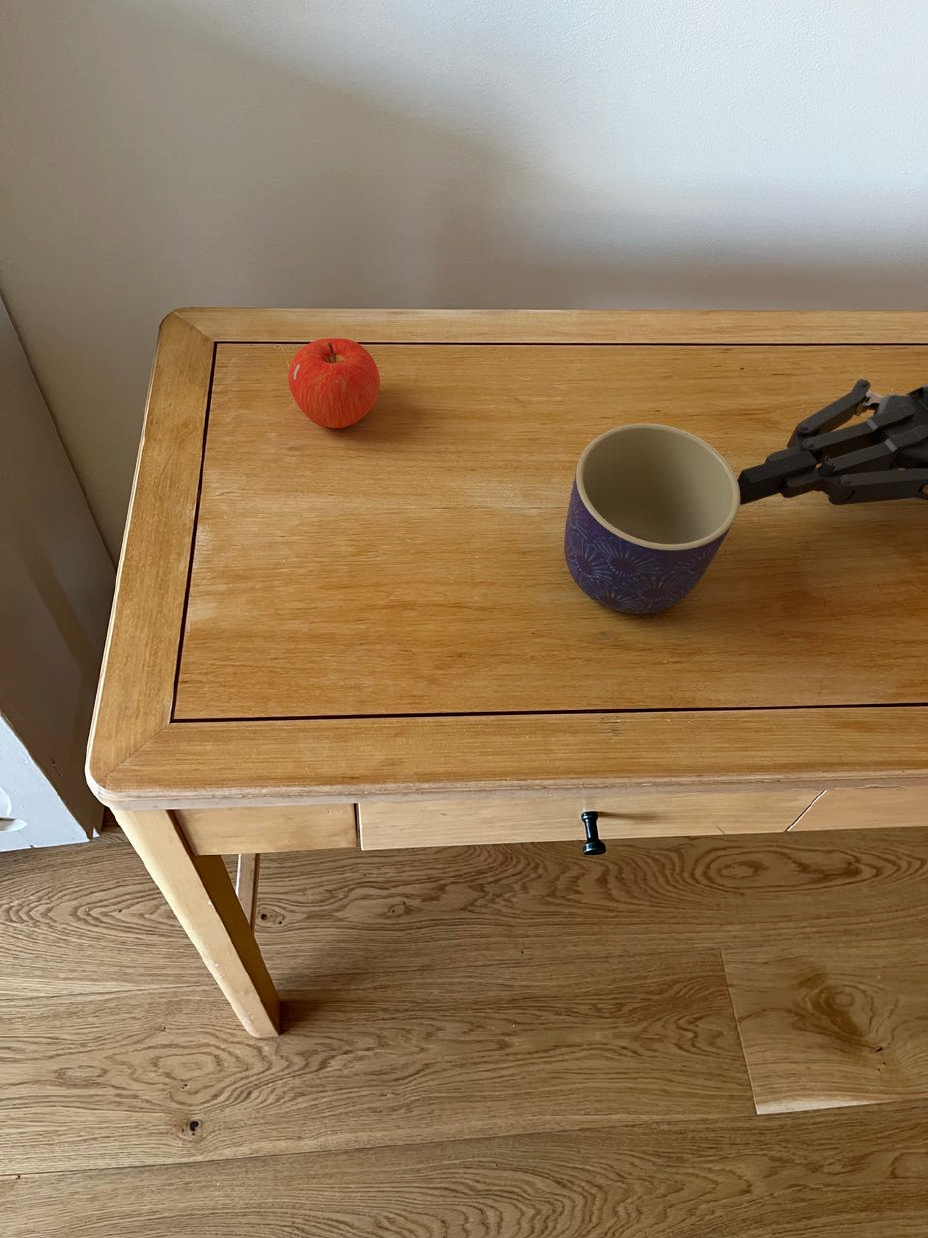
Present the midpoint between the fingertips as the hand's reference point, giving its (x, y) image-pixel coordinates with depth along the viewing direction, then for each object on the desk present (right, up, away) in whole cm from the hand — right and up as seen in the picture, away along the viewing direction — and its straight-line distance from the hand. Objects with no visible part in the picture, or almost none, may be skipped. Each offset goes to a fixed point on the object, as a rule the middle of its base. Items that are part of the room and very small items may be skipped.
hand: (741, 487), depth 75 cm
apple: (-34, +8, +11) cm, 37 cm away
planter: (-9, -7, +3) cm, 11 cm away
